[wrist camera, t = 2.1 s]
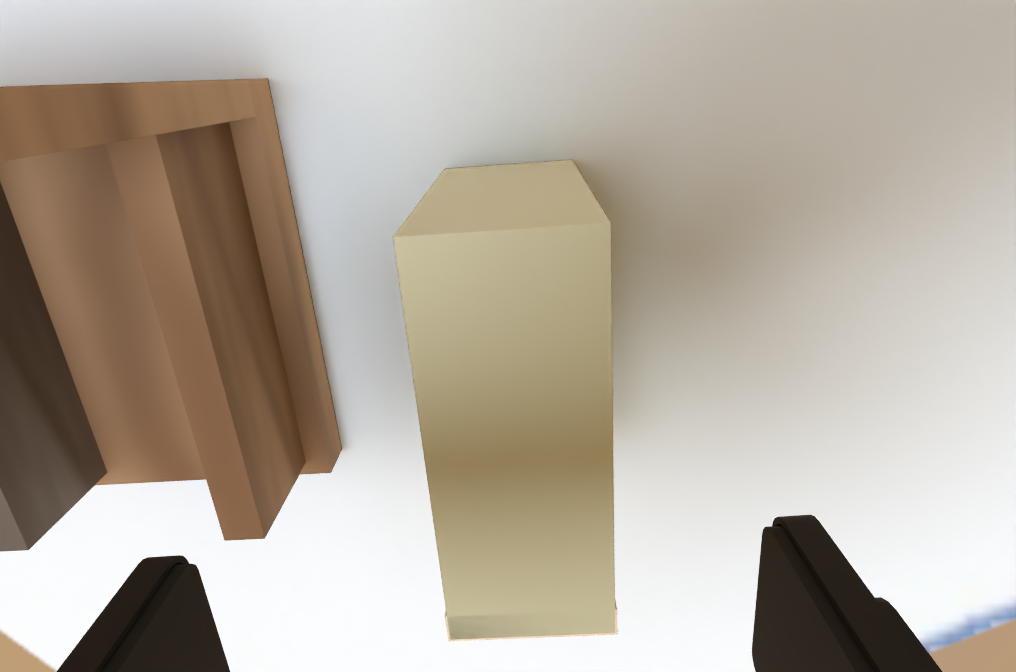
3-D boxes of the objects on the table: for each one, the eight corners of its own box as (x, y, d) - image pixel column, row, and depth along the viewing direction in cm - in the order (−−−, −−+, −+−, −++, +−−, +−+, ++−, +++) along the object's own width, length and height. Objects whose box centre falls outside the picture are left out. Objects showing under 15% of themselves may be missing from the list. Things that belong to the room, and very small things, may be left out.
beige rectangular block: (573, 159, 20) (613, 222, 12) (582, 437, 24) (617, 634, 15) (443, 168, 20) (390, 237, 12) (472, 443, 24) (448, 641, 16)
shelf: (267, 78, 19) (-199, 92, 7) (341, 449, 24) (152, 855, 12) (-54, 103, 20) (-1056, 161, 7) (83, 463, 25) (-365, 869, 12)
